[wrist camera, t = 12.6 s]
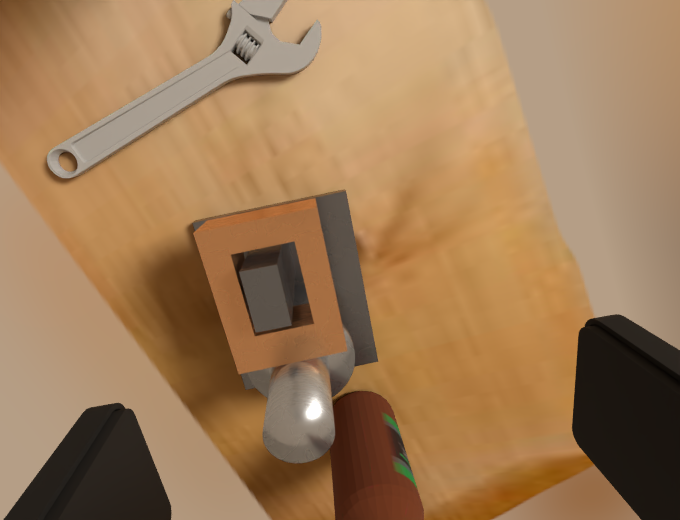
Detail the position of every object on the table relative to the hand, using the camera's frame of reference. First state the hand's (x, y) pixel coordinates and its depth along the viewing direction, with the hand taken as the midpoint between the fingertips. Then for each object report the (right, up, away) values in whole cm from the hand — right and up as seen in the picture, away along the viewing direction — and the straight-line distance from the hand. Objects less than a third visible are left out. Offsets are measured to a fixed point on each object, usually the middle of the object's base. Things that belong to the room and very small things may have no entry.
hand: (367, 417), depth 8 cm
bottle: (+2, -14, +37) cm, 39 cm away
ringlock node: (-5, 0, +31) cm, 32 cm away
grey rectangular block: (-6, +4, +29) cm, 30 cm away
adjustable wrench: (-14, +18, +25) cm, 34 cm away
